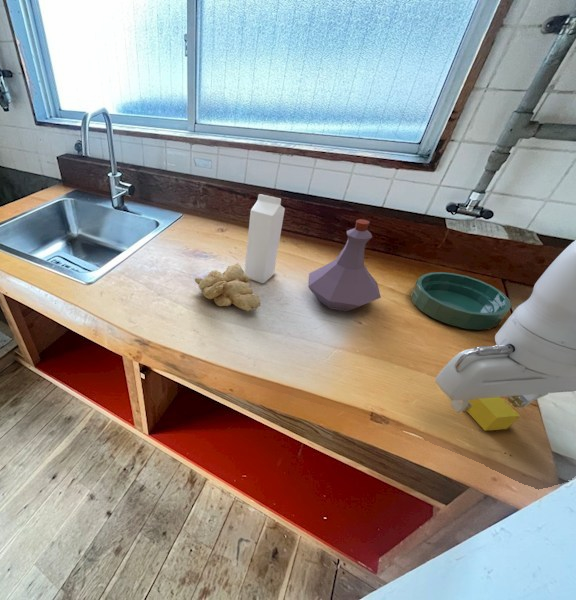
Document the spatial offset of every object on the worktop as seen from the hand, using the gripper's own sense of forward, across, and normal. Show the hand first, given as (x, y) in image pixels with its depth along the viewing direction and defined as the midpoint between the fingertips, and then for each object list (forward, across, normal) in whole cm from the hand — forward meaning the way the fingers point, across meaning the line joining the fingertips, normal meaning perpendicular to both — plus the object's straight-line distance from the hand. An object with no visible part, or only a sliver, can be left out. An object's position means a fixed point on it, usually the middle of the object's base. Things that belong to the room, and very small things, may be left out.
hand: (486, 405), depth 51 cm
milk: (+3, -24, +46) cm, 52 cm away
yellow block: (+2, 0, 0) cm, 2 cm away
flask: (+3, -8, +33) cm, 34 cm away
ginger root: (+3, -35, +37) cm, 51 cm away
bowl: (+2, +16, +27) cm, 31 cm away
